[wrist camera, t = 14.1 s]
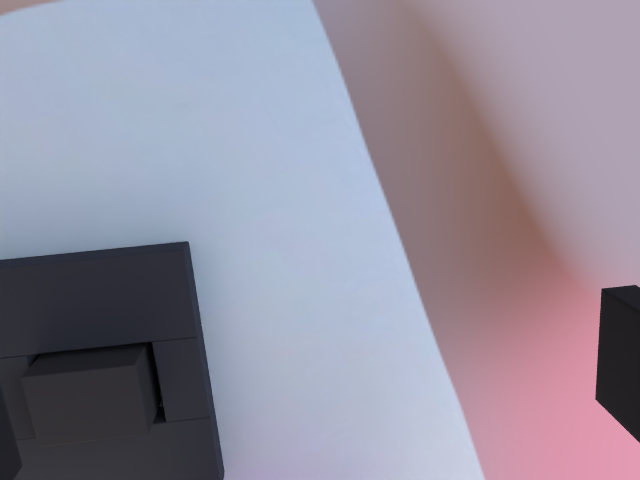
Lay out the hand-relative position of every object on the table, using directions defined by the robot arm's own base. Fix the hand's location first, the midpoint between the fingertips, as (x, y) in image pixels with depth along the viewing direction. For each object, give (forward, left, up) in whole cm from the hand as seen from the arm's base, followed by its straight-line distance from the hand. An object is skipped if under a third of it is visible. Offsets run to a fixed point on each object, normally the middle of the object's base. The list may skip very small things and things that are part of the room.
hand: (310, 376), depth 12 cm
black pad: (+12, -14, -25) cm, 31 cm away
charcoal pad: (+12, -14, -25) cm, 31 cm away
